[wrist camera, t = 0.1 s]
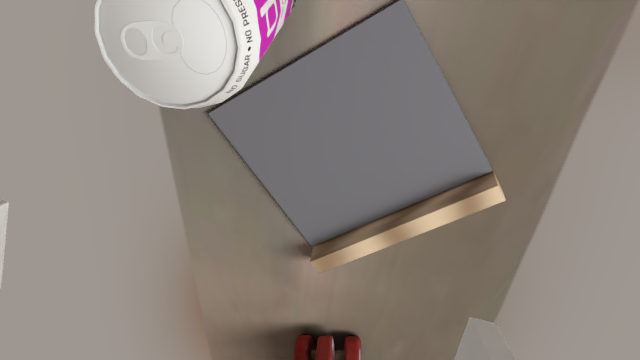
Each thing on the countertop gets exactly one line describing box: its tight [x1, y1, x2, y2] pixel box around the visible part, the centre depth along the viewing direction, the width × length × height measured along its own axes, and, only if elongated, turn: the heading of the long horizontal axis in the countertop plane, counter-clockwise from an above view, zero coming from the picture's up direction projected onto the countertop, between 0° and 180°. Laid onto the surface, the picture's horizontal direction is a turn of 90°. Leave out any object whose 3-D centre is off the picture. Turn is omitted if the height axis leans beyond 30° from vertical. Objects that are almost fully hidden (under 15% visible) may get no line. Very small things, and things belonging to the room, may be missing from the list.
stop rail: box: [310, 171, 505, 274], centre depth 45 cm, size 18×2×2 cm, turn 122°
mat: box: [208, 0, 493, 247], centre depth 42 cm, size 18×16×1 cm
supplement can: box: [94, 0, 296, 109], centre depth 30 cm, size 8×8×15 cm
